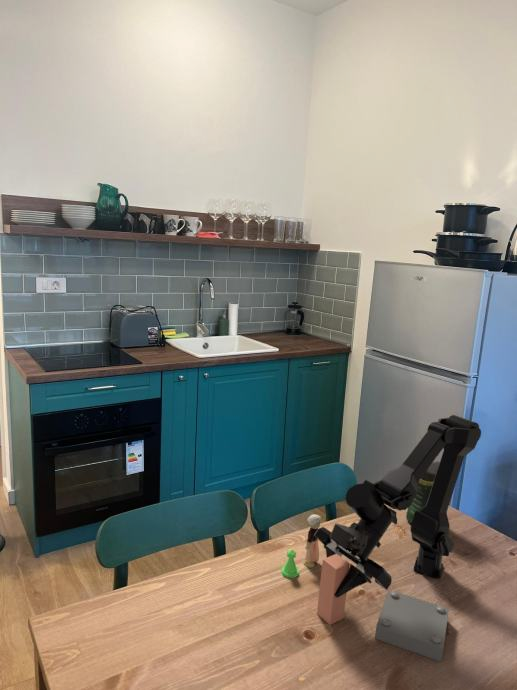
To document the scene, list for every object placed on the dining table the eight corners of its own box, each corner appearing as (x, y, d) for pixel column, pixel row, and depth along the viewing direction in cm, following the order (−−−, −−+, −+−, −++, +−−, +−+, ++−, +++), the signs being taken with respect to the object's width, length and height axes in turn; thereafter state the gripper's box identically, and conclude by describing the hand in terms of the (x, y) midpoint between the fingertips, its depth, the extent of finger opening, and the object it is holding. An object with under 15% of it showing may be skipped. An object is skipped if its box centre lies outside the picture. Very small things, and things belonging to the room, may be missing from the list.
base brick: (386, 601, 121) (388, 587, 120) (447, 620, 116) (449, 606, 115) (374, 638, 109) (376, 623, 109) (441, 661, 104) (443, 646, 104)
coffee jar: (419, 532, 151) (428, 471, 148) (401, 518, 158) (409, 459, 155) (445, 527, 155) (454, 467, 152) (427, 513, 162) (435, 456, 159)
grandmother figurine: (317, 571, 130) (322, 523, 128) (301, 568, 131) (306, 521, 128) (320, 554, 137) (324, 508, 135) (305, 551, 138) (309, 506, 136)
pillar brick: (330, 607, 118) (336, 553, 115) (343, 618, 115) (349, 563, 112) (317, 613, 115) (322, 559, 113) (329, 625, 112) (336, 569, 110)
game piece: (296, 580, 126) (298, 557, 125) (278, 575, 128) (280, 552, 126) (300, 569, 130) (302, 547, 129) (283, 565, 132) (285, 543, 130)
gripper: (324, 493, 120) (281, 551, 116) (389, 532, 105) (343, 601, 101) (345, 516, 126) (306, 573, 122) (409, 557, 112) (367, 622, 107)
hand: (328, 590), depth 113 cm, fingers closed on pillar brick, 4 cm apart
